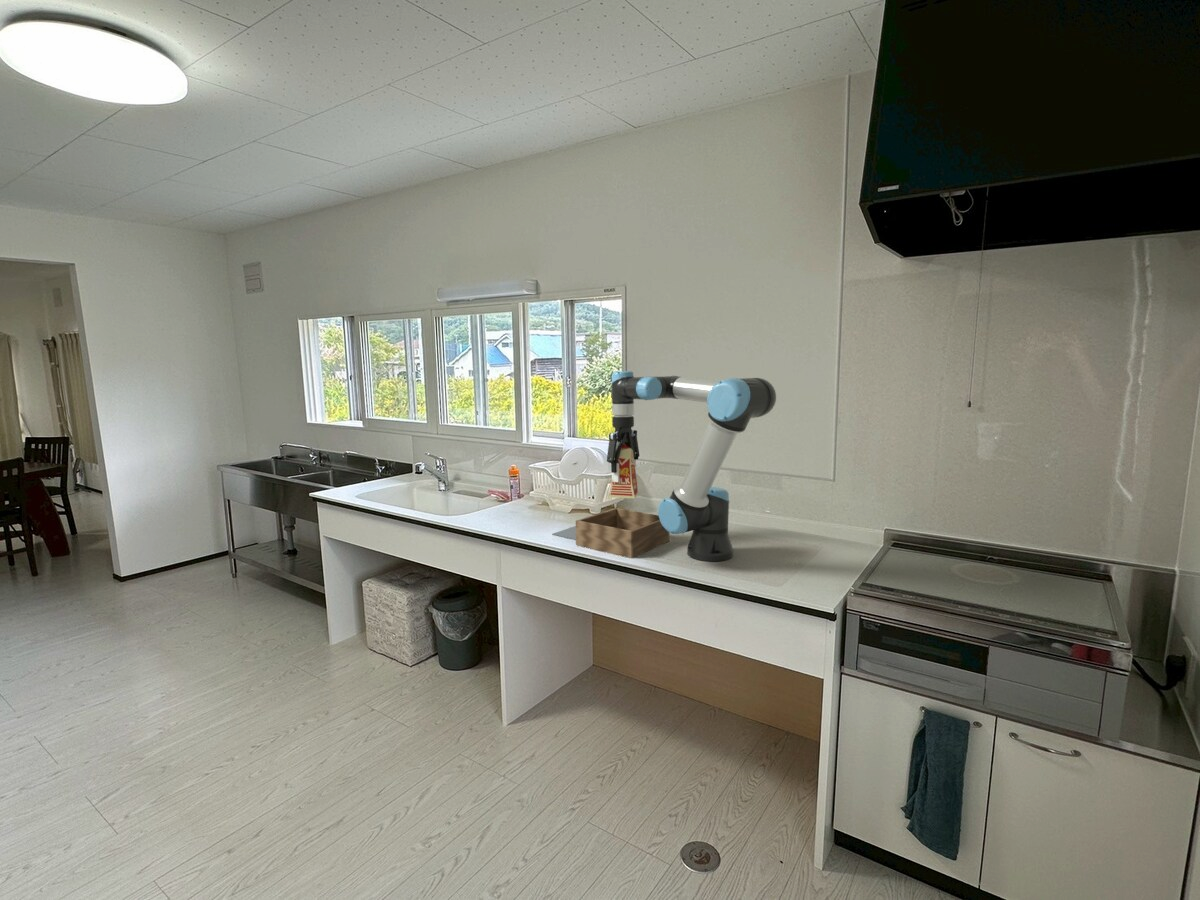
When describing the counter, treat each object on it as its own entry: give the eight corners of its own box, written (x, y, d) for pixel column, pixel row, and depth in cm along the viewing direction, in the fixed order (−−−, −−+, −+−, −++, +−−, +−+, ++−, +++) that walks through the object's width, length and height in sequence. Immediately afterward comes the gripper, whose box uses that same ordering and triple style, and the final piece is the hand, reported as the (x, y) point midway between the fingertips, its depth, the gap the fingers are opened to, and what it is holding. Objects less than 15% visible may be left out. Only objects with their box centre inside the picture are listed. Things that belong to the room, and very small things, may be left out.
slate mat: (604, 532, 233) (604, 531, 233) (580, 541, 223) (580, 540, 223) (576, 526, 242) (576, 525, 242) (552, 534, 231) (552, 533, 231)
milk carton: (634, 498, 211) (634, 441, 209) (608, 497, 213) (608, 440, 211) (638, 493, 220) (638, 438, 217) (613, 492, 222) (613, 437, 219)
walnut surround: (669, 541, 222) (669, 517, 220) (631, 558, 203) (631, 531, 202) (616, 530, 236) (616, 507, 235) (575, 545, 217) (575, 520, 216)
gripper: (632, 413, 224) (632, 474, 227) (595, 417, 207) (596, 483, 210) (649, 414, 219) (649, 476, 222) (612, 418, 202) (613, 485, 205)
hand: (623, 479), depth 216 cm, fingers closed on milk carton, 9 cm apart
